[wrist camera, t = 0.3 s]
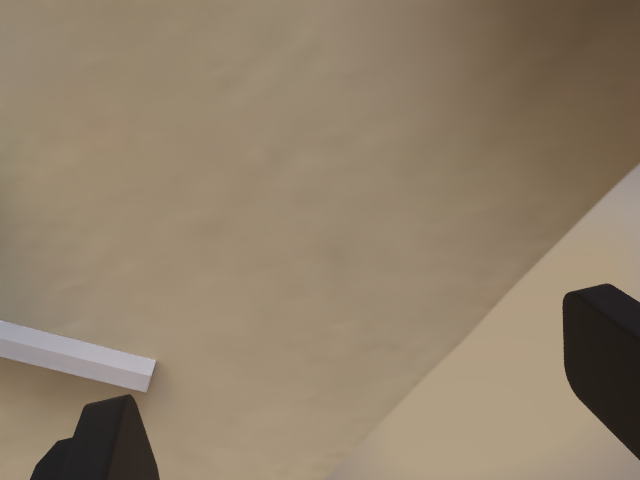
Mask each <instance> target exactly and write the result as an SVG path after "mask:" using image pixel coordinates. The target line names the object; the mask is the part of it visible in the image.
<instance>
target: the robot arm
mask: <svg viewBox="0 0 640 480" xmlns="http://www.w3.org/2000/svg"><path fill="white" fill-rule="evenodd" d="M563 339H564V367H565V372H566V376H567V379H568V381H569V384H570V386H571V388H572V390H573V392H574V393H575V394H576V396H577V397H578V398H579V399H580V400H581V401H582V402H583V404H584V405H586V406H587V408H588V409H590V411H591V412H592V413H593V414H594V415H595V416H597V418H598V419H599V420H600V421H601V422H602V423H603V424H604V425H605V426H606V427H607V428H608V429H609V430H610V431H611V432H612V433H613V434H614V435H615V436H616V437H617V438H618V439H619V440H620V441H621V442H622V443H623V444H624V445H625V446H626V447H627V448H628V449H629V450H630V451H631V452H632V453H633V454H634V455H635V456H636V457H637V458H638V459H639V460H640V302H638V301H637V300H635V299H633V298H632V297H630V296H629V295H627V294H625V293H624V292H622V291H621V290H619V289H618V288H616V287H615V286H613V285H611V284H602V285H598V286H593V287H590V288H585V289H581V290H577V291H572V292H569V293H567V294H566V295H565V297H564V299H563ZM30 480H160V478H159V473H158V468H157V464H156V461H155V458H154V455H153V452H152V449H151V446H150V443H149V440H148V437H147V434H146V431H145V428H144V425H143V422H142V419H141V416H140V413H139V410H138V407H137V404H136V402H135V400H134V398H133V397H132V395H130V394H128V395H123V396H119V397H115V398H111V399H106V400H102V401H98V402H94V403H89V404H86V405H85V406H84V408H83V411H82V413H81V416H80V419H79V422H78V424H77V427H76V430H75V432H74V435H73V437H72V438H68V439H64V440H60V441H57V442H56V444H55V445H54V446H53V447H52V448H51V449H50V450H49V451H48V452H47V454H46V455H45V456H44V457H43V458H42V459H41V460H40V461H39V462H38V464H37V465H36V467H35V469H34V471H33V474H32V476H31V478H30Z"/></svg>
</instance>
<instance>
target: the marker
mask: <svg viewBox="0 0 640 480" xmlns="http://www.w3.org/2000/svg"><path fill="white" fill-rule="evenodd" d="M0 357H4V358H8V359H12V360H16V361H20V362H24V363H28V364H32V365H36V366H40V367H44V368H49V369H53V370H57V371H61V372H65V373H69V374H73V375H77V376H81V377H85V378H89V379H93V380H97V381H101V382H105V383H109V384H113V385H117V386H121V387H125V388H129V389H133V390H137V391H142V392H147V389H148V386H149V383H150V380H151V377H152V373H153V370H154V367H155V364H156V360H153V359H149V358H145V357H141V356H137V355H133V354H129V353H125V352H122V351H118V350H114V349H110V348H106V347H102V346H98V345H94V344H91V343H87V342H83V341H79V340H75V339H71V338H67V337H63V336H60V335H56V334H52V333H48V332H44V331H40V330H36V329H32V328H29V327H25V326H21V325H17V324H13V323H9V322H5V321H1V320H0Z"/></svg>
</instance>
